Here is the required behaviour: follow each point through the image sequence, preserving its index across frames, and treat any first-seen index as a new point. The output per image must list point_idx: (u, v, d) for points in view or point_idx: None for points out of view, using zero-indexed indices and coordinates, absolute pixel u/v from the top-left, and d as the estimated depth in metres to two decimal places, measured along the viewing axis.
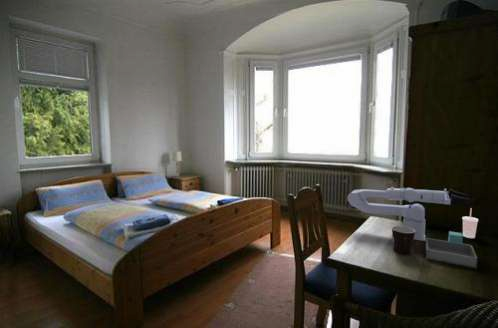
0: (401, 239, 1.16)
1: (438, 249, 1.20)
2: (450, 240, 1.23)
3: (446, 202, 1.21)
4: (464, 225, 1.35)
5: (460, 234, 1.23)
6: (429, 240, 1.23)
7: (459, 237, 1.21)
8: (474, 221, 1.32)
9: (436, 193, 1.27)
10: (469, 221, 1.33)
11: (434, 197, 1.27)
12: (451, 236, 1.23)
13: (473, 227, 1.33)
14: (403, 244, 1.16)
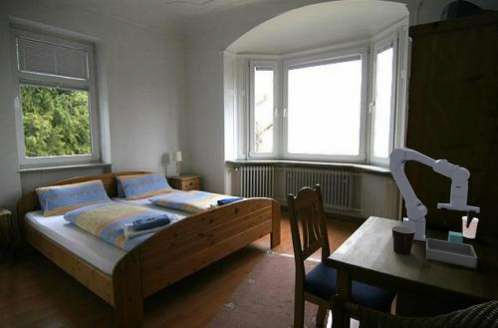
0: (401, 239, 1.16)
1: (438, 249, 1.20)
2: (450, 240, 1.23)
3: None
4: (464, 225, 1.35)
5: (460, 234, 1.23)
6: (429, 240, 1.23)
7: (459, 237, 1.21)
8: (474, 221, 1.32)
9: (453, 199, 1.21)
10: None
11: None
12: (451, 236, 1.23)
13: (473, 227, 1.33)
14: (403, 244, 1.16)
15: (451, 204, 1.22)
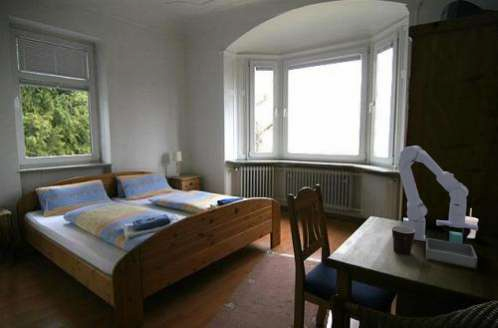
0: (401, 239, 1.16)
1: (438, 249, 1.20)
2: (450, 240, 1.23)
3: None
4: None
5: (460, 234, 1.23)
6: (429, 240, 1.23)
7: (459, 237, 1.21)
8: (474, 221, 1.32)
9: (452, 217, 1.22)
10: (469, 221, 1.33)
11: (449, 214, 1.24)
12: (451, 236, 1.23)
13: None
14: (403, 244, 1.16)
15: (450, 221, 1.23)
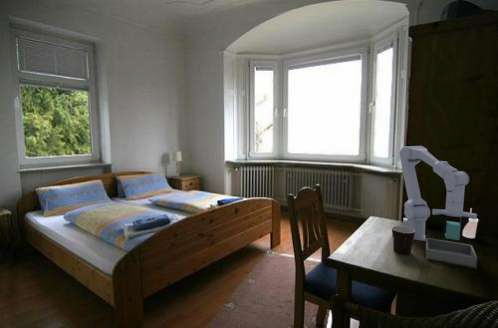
0: (401, 239, 1.16)
1: (438, 249, 1.20)
2: (447, 230, 1.15)
3: None
4: None
5: (458, 223, 1.15)
6: (429, 240, 1.23)
7: (456, 226, 1.13)
8: (474, 221, 1.32)
9: (449, 205, 1.14)
10: (469, 221, 1.33)
11: (446, 202, 1.16)
12: (448, 226, 1.15)
13: (473, 227, 1.33)
14: (403, 244, 1.16)
15: (447, 210, 1.15)
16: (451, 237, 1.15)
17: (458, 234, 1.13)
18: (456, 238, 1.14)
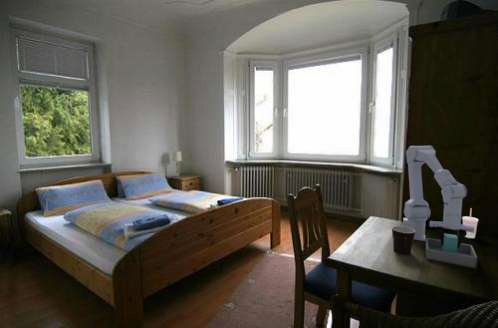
0: (401, 239, 1.16)
1: (438, 249, 1.20)
2: (444, 243, 1.13)
3: None
4: None
5: (455, 236, 1.13)
6: (429, 240, 1.23)
7: (453, 239, 1.12)
8: (474, 221, 1.32)
9: (446, 218, 1.12)
10: (469, 221, 1.33)
11: (443, 214, 1.14)
12: (445, 238, 1.13)
13: None
14: (403, 244, 1.16)
15: (444, 223, 1.13)
16: (448, 250, 1.13)
17: (455, 247, 1.12)
18: (453, 251, 1.12)
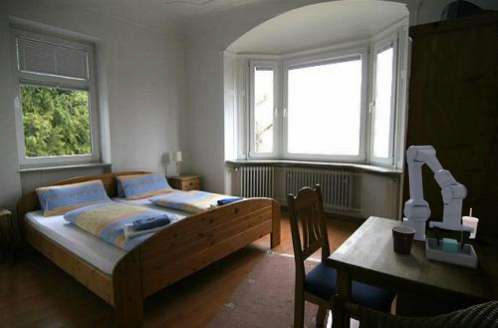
0: (401, 239, 1.16)
1: (438, 249, 1.20)
2: (444, 248, 1.14)
3: None
4: (464, 225, 1.35)
5: (455, 241, 1.13)
6: (429, 240, 1.23)
7: (453, 244, 1.12)
8: (474, 221, 1.32)
9: (446, 218, 1.12)
10: (469, 221, 1.33)
11: (443, 215, 1.14)
12: (445, 243, 1.13)
13: None
14: (403, 244, 1.16)
15: (444, 223, 1.13)
16: None
17: (455, 252, 1.12)
18: None
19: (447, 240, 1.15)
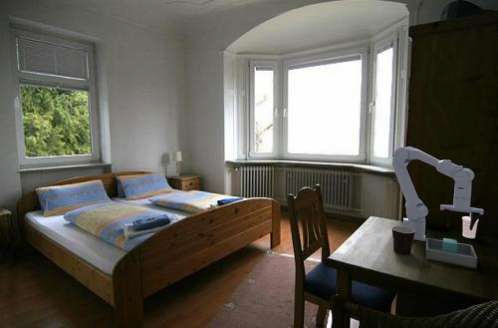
0: (401, 239, 1.16)
1: (438, 249, 1.20)
2: (444, 248, 1.14)
3: (440, 206, 1.24)
4: (464, 225, 1.35)
5: (455, 241, 1.13)
6: (429, 240, 1.23)
7: (453, 244, 1.12)
8: None
9: (457, 200, 1.18)
10: (469, 221, 1.33)
11: None
12: (445, 243, 1.13)
13: (473, 227, 1.33)
14: (403, 244, 1.16)
15: (454, 205, 1.20)
16: None
17: (455, 252, 1.12)
18: None
19: (447, 240, 1.15)
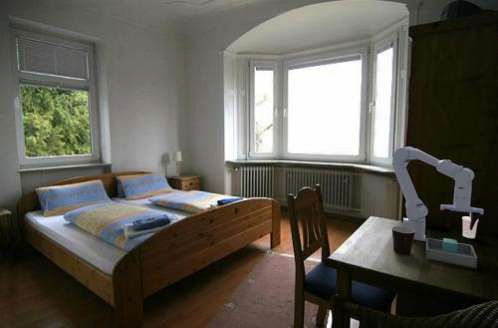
0: (401, 239, 1.16)
1: (438, 249, 1.20)
2: (444, 248, 1.14)
3: None
4: (464, 225, 1.35)
5: (455, 241, 1.13)
6: (429, 240, 1.23)
7: (453, 244, 1.12)
8: None
9: (457, 200, 1.19)
10: (469, 221, 1.33)
11: (454, 197, 1.21)
12: (445, 243, 1.13)
13: (473, 227, 1.33)
14: (403, 244, 1.16)
15: (454, 205, 1.20)
16: None
17: (455, 252, 1.12)
18: None
19: (447, 240, 1.15)
